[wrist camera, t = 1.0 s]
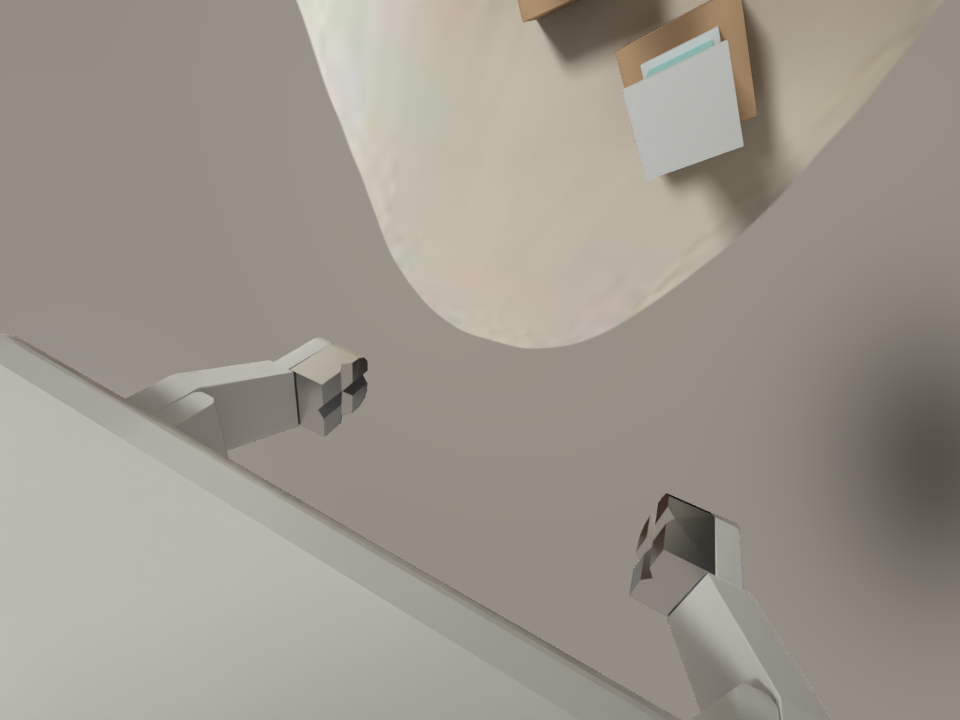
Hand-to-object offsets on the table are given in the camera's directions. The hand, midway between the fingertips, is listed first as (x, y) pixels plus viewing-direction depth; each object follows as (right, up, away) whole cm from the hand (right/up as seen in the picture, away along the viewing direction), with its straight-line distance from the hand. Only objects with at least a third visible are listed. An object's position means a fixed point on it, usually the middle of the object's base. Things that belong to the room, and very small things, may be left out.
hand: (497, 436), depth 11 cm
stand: (+16, +25, +23) cm, 38 cm away
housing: (+15, +22, +21) cm, 34 cm away
